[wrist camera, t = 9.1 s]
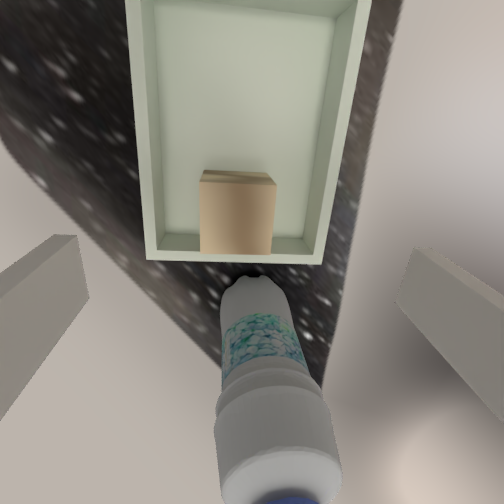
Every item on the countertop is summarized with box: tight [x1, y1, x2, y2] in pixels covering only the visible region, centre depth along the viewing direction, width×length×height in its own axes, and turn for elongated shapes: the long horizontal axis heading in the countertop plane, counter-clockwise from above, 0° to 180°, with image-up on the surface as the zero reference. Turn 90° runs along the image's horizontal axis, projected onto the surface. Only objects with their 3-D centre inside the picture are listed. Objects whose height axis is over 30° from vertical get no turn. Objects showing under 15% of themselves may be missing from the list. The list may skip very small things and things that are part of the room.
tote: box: [125, 0, 372, 264], centre depth 21 cm, size 18×14×4 cm
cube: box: [199, 170, 277, 255], centre depth 22 cm, size 5×5×5 cm
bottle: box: [214, 275, 343, 504], centre depth 20 cm, size 7×7×20 cm
